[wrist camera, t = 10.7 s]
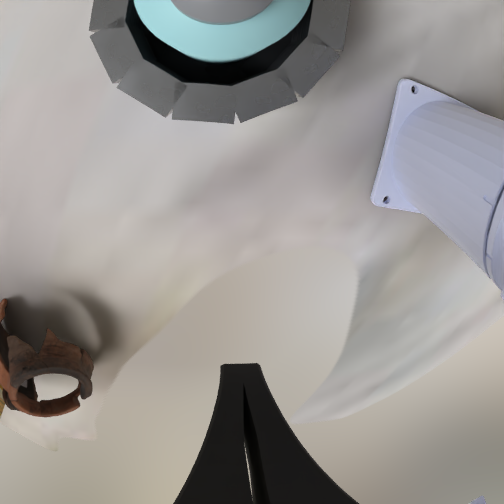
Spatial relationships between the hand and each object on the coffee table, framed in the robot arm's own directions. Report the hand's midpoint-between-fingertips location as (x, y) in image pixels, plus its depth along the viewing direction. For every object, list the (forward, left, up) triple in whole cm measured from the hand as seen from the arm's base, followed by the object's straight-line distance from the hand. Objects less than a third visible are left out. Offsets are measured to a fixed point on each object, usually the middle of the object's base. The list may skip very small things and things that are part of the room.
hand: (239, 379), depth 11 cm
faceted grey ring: (+2, -13, -9) cm, 16 cm away
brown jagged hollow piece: (+16, +11, -10) cm, 21 cm away
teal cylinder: (+2, -13, -8) cm, 16 cm away
